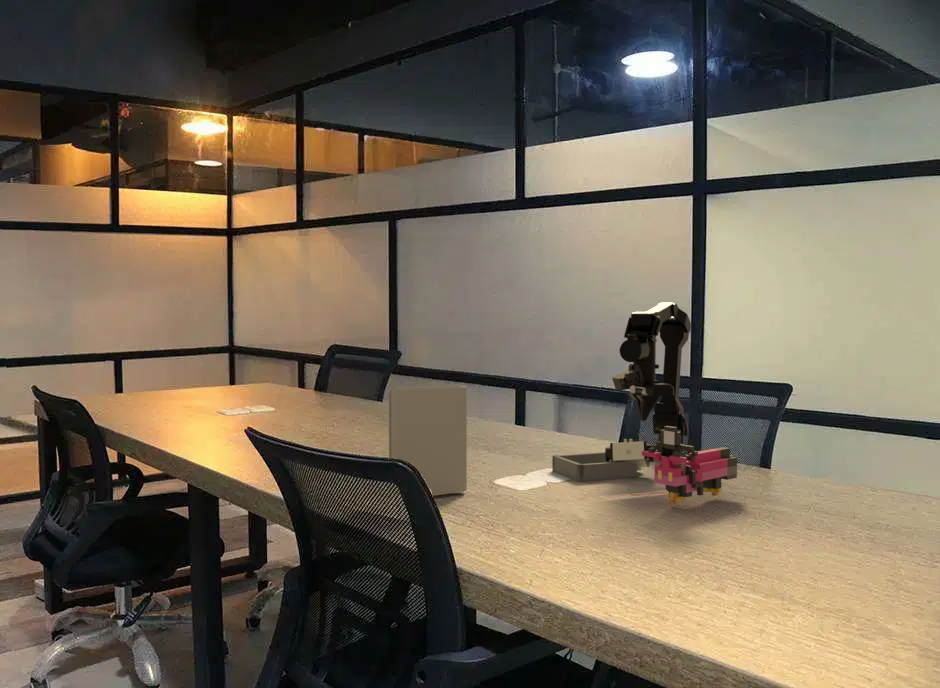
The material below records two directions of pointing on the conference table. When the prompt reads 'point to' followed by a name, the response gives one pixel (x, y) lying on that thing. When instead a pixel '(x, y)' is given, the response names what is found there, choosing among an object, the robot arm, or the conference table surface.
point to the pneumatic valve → (629, 453)
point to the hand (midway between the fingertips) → (643, 420)
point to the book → (431, 434)
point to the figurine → (690, 467)
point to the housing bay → (591, 467)
